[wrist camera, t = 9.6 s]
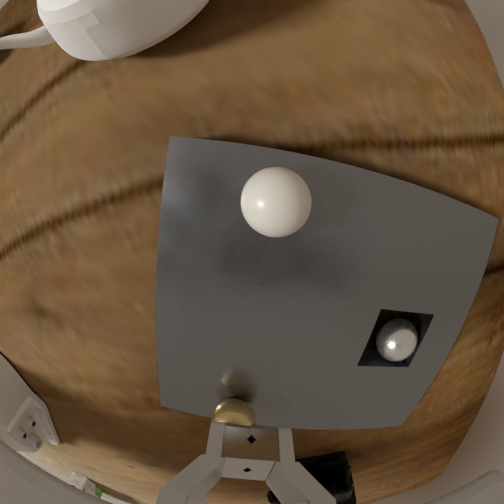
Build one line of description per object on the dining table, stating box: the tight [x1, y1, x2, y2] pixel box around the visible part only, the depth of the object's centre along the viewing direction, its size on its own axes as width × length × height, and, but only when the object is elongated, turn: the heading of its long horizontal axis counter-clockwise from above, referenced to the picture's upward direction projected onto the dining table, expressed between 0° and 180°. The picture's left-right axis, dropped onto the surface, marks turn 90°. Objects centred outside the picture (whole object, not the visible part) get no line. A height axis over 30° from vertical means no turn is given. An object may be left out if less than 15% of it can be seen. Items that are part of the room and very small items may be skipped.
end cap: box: [267, 451, 356, 504], centre depth 22 cm, size 10×7×7 cm
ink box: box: [68, 472, 103, 498], centre depth 31 cm, size 9×5×12 cm, turn 4°
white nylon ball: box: [241, 167, 312, 237], centre depth 12 cm, size 3×3×3 cm
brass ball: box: [211, 399, 256, 426], centre depth 17 cm, size 3×3×3 cm
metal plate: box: [156, 136, 499, 430], centre depth 17 cm, size 20×22×2 cm
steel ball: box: [376, 318, 418, 361], centre depth 17 cm, size 3×3×3 cm
